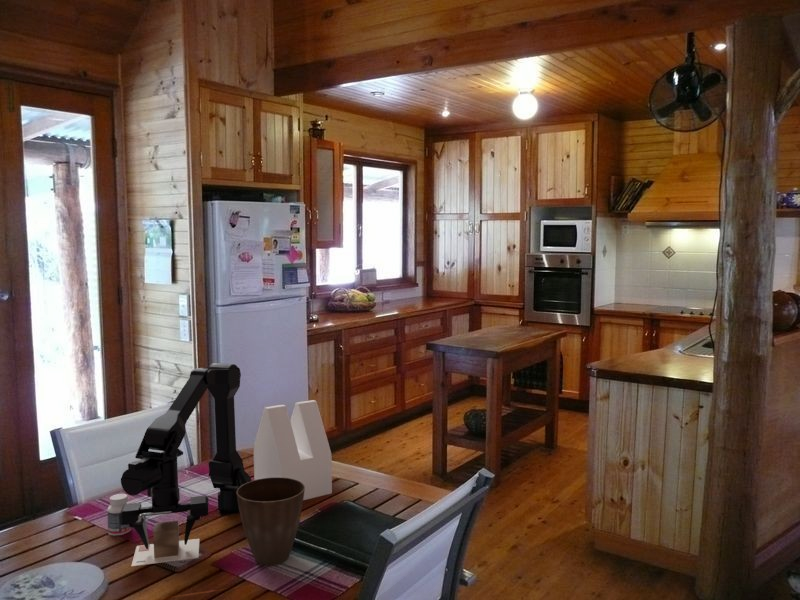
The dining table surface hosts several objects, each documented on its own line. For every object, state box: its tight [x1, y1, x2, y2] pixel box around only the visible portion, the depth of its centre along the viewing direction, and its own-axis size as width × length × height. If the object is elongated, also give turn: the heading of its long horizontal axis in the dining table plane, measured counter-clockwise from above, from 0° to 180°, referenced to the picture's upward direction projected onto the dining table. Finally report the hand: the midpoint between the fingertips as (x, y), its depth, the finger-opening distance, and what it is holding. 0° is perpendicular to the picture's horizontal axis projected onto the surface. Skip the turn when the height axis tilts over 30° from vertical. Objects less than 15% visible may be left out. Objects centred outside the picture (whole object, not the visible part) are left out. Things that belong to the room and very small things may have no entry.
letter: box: [130, 538, 200, 567], centre depth 148 cm, size 14×10×1 cm
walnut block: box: [152, 520, 180, 558], centre depth 147 cm, size 5×5×6 cm
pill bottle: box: [106, 493, 132, 536], centre depth 159 cm, size 5×5×9 cm
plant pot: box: [237, 477, 305, 567], centre depth 145 cm, size 15×15×16 cm
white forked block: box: [253, 399, 333, 501], centre depth 186 cm, size 19×15×25 cm
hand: (166, 546), depth 148 cm, fingers open, 8 cm apart
